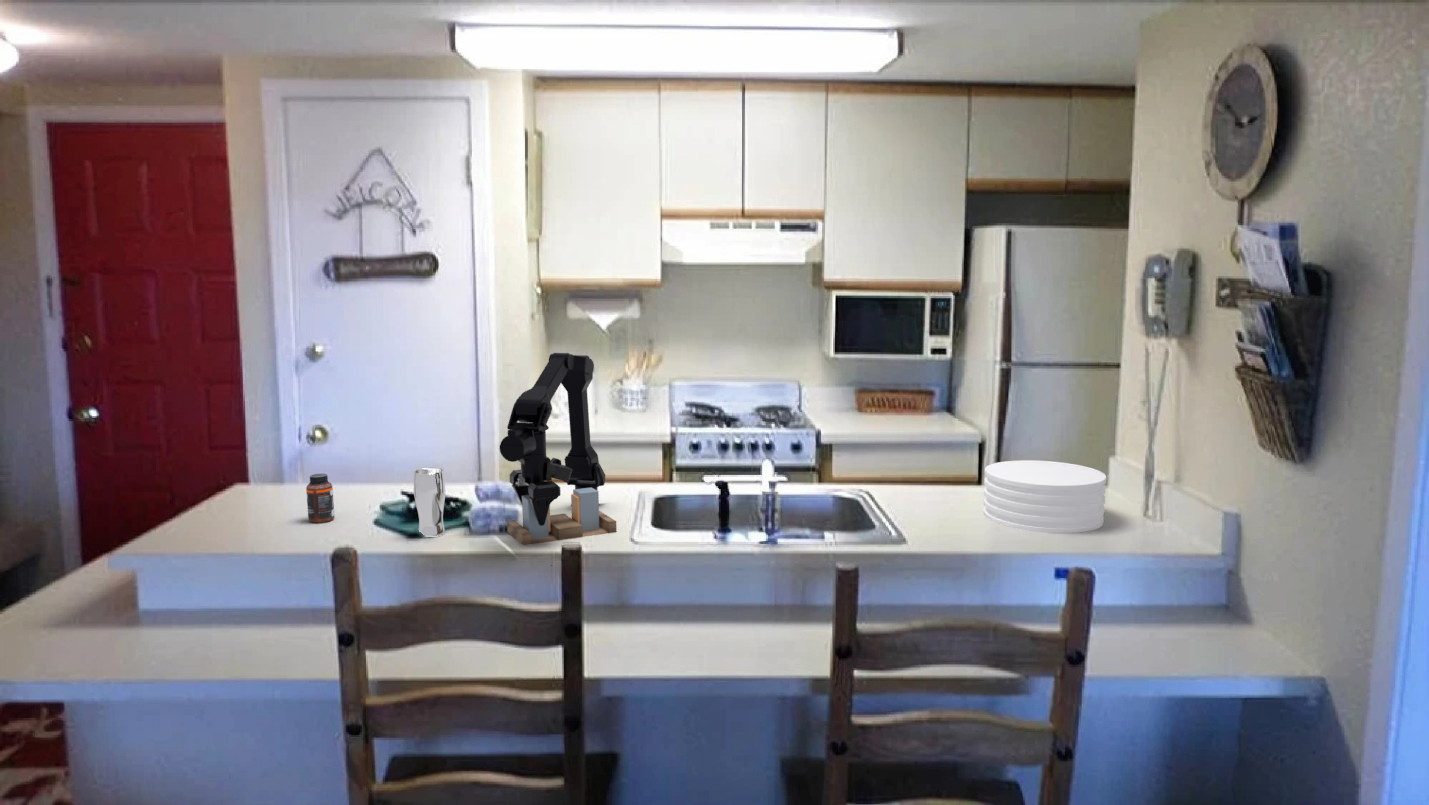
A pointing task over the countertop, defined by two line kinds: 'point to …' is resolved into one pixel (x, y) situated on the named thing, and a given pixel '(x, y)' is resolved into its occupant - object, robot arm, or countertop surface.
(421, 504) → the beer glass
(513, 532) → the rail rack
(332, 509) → the supplement bottle
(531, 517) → the block
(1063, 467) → the plate stack
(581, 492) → the block
